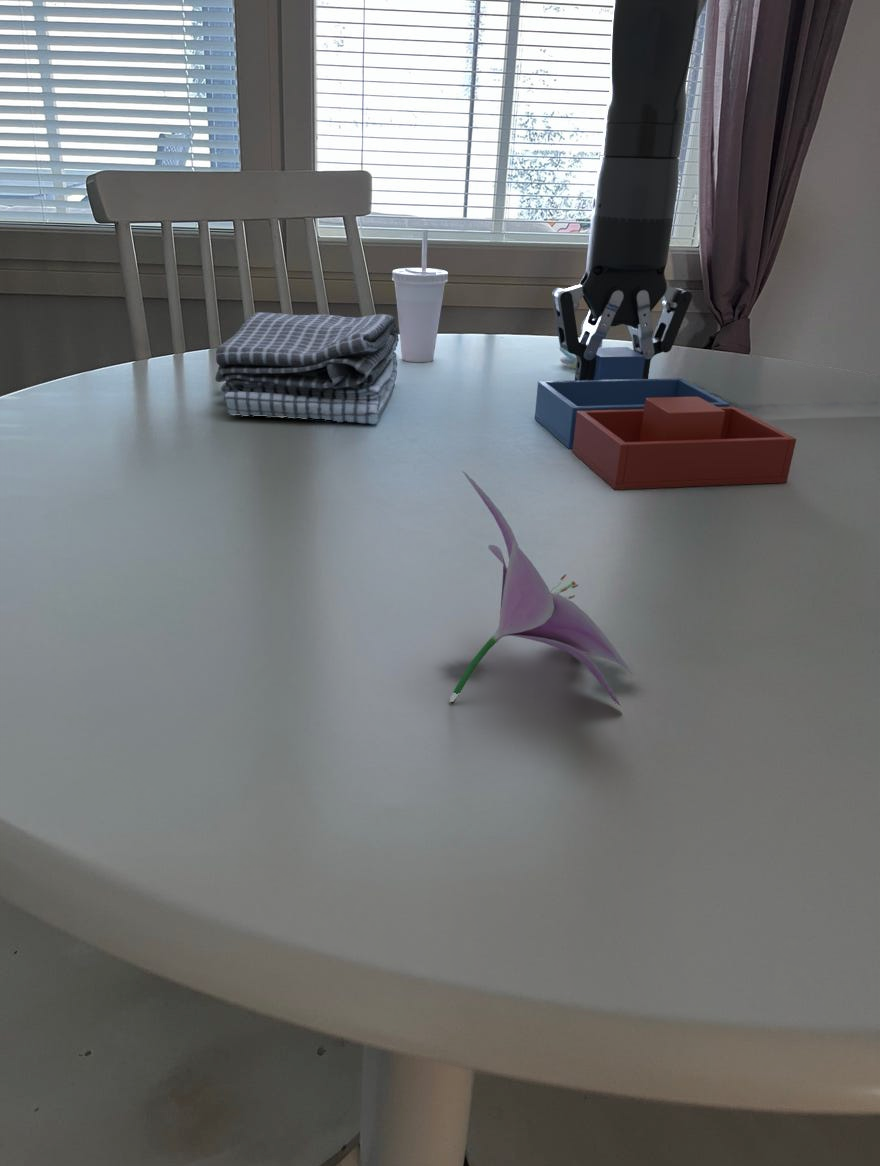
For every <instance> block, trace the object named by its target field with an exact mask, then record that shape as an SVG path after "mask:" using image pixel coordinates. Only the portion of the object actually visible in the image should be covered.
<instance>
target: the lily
mask: <svg viewBox="0 0 880 1166" xmlns="http://www.w3.org/2000/svg"><path fill="white" fill-rule="evenodd" d="M462 473H463V474H464V476H465V478H466V479H467V481H468V482H469V483H470V485H471V486H472V487H473V489H474V490H475V492H476V493H477V494H478V496H479V497H480V498H481V501H482V502H483V503H484V504H485V506H486V507H487V509H488V511H489V512H490V513H491V515H492V517H493V518H494V520H495V522H496V524H497V526H498V528H499V529H500V533H501V534H502V537H503V540H504V543H505V547H506V552H507V556H508V565H506V562H505V557H504V554H503V552H502V549H500V548H499V546H497V545H495V544H488V546H487V547H488V550H489V551H490V552H491V553H492V554H493V555H494V556H495V557H496V558H497V560H498V561H500V563H501V564H502V583H501V584H502V585H501V596H500V597H501V599H500V600H501V601H500V611H499V612H500V613H499V622H498V626H497V629H496V631H495V632H494V634H493V635H492V636H491V637H490V638H489V639H488V640H487V641H486V643H485V644H484V645H483V646H482V648H481V649H480V650H479V651H478V653H477V654H476V655H475V656H474V657H473V659H472V660H471V662H470V663H469V665H468V666H467V668H466V670H465V671H464V672H463V675H461V677H460V679H459V681H458V683H457V685H456V686H455V687H454V689H453V690H452V693H453V692H454V693H456V694H458V693H460V694H461V692H462V690H463V688H464V687H465V685H466V683H467V681H468V680H469V679H470V677H471V675H472V674H473V672H474V671H475V669H476V667H477V666H478V664H479V663H480V661H481V660H482V659H483V658H484V657H485V656H486V654H487V653H488V652H489V651H490V650H491V648H492V647H493V646H494V645H495V644H496V643H497V642H498V641H500V640H502V638H504V637H517V638H522V639H526V640H531V641H535V642H538V643H542V644H545V645H547V646H548V645H549V646H552V647H555V648H557V649H560V650H561V651H563V652H565V653H567V654H569V655H571V657H574V658H575V659H576V660H578V661H579V662H580V663H581V664H583V666H584V667H585V668H587V670H588V671H589V672H590V673H591V674H592V675H593V676H594V677H595V679H596V680H597V681H598V682H599V684H600V685H601V687H603V689H604V690H605V691H606V693H607V694H608V695H609V696H610V698H611V699H612V701H613V702H614V701H615V702H616V703H617V704H618V705H620V706H621V704H620V702H619V699H618V698H617V696H616V694H615V693H614V690H613V689H612V687H611V685H610V683H609V682H608V681H607V679H606V678H605V675H604V674H603V673H602V672H601V671H600V669H599V667H598V666H597V665H596V664H595V663H594V662H593V660H591V658H589V657H588V655H592V656H594V657H598V658H603V659H606V660H610V661H612V662H615V663H616V664H618V665H619V666H621V667H623V668H624V669H625V670H627V671H628V672H629V673H630V674H632V670H631V669H630V667H629V666H628V664H627V663H626V661H625V660H624V658H623V657H622V655H621V654H620V653H619V651H618V650H617V648H616V647H615V646H614V645H613V644H612V642H611V640H610V639H609V638H608V637H607V635H606V634H605V633H604V632H603V631H602V630H601V628H600V627H599V626H598V625H597V624H596V623H595V622H594V620H592V618H591V617H590V616H589V614H587V613H586V612H585V611H583V610H582V609H581V608H580V607H579V606H578V605H577V604H576V603H575V602H573V601H572V600H570V599H574V598H575V597H576V595H575V594H574V595H567V596H562V595H561V593H562V592H566V591H567V590H568V589H570V588H572V589H575V588H577V587H579V584H576V581H575V580H573V581H572V582H570V583H569V584H567V585H565V586H564V587H562V588H560V589H558V590H557V591H554V590H555V589H556V588H557V587H559V586H560V584H561V583H562V582H563V581H565V577H566V576H567V574H564V575H563V576H561V578H560V581H559V582H558V583H557V584H556V585H555V586H554V587H553V588H552V589H550V588H549V587H548V585H547V583H546V582H545V581H544V579H543V576H542V575H541V574H540V572H539V571H538V569H537V568H536V567H535V565H534V564H533V562H532V561H531V560H530V559H529V557H528V556H527V555H526V553H524V551H523V550H522V549H521V548H520V547H519V544H518V542H517V539H516V537H515V534H514V532H513V529H512V527H511V526H510V524H509V522H508V521H507V520H506V517H505V516H504V514H503V513H502V512H501V510H500V509H499V508H498V507H497V505H496V504H495V503H494V502H493V501H492V499H491V498H490V497H489V495H487V493H486V492H485V491H484V490H483V489H482V487H480V486H479V485H478V484H477V482H475V481H474V479H473V478H471V477H470V476H469V475H468V474H467V472H465V471H462ZM553 591H554V592H553ZM586 654H588V655H586ZM615 702H614V703H615ZM616 703H615V704H616Z"/></svg>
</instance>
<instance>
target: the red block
mask: <svg viewBox="0 0 880 1166" xmlns="http://www.w3.org/2000/svg"><path fill="white" fill-rule="evenodd" d="M724 415H725V411H724V410H722V409H720V408H718V407H716V406H715V405H713V404H711V403H709V402H707V401H705V400H704V399H702V398H700V397H659V398H646V400H645V406H644V413H643V420H642V427H641V434H640V441H639V442H649V441H680V440H710V439H720V436H721V431H722V426H723V420H724Z"/></svg>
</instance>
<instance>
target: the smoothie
mask: <svg viewBox="0 0 880 1166" xmlns="http://www.w3.org/2000/svg"><path fill="white" fill-rule="evenodd" d="M428 235H429V230H428V229H422V239H421V241H422V242H421V267H403V268H401V267H400V268H396V269H393V270H392V272H391V273H392V278H391V281H393V282H394V288H395V299H396V311H397V321H398V330H399V331H398V334H399V342H400V353H401V360H403V361H406V362H410V363H429V362H433V360H434V357H435V350H436V343H437V338H438V332H439V325H440V320H441V319H440V318H441V312H442V305H443V301H444V300H443V299H444V293H445V285H446V283H448V282H449V279H448V277H449V272H448V271H446V270H443V269H440V268H431V267H430V268H429V267H428V268H427V264H428Z"/></svg>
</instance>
